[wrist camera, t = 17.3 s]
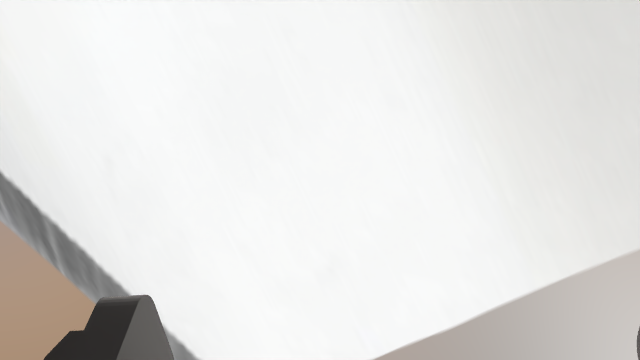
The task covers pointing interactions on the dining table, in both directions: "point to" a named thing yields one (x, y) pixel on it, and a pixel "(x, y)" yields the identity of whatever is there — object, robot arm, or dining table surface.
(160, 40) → the dining table surface
